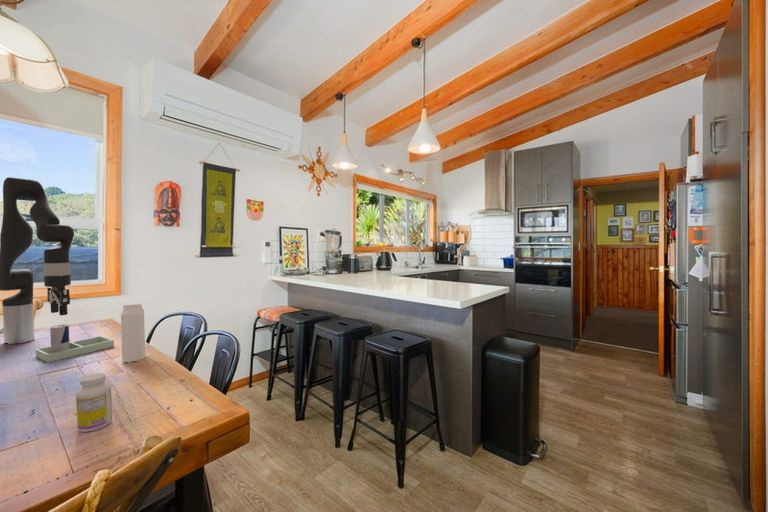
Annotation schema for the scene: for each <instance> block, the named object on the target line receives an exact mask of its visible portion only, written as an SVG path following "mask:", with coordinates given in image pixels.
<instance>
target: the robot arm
mask: <svg viewBox="0 0 768 512" xmlns="http://www.w3.org/2000/svg"><path fill="white" fill-rule="evenodd" d="M2 200H3V201H2V207H3V209H2V210H3V214H2V223H1V230H0V292H1V291H2V292H3V291H7V292H8V291H18V290H19V292H17V293H15V294H14V295H12V296H9V297H6V298H3V299H2V302H1V304H2V305H1V306H2V307H1V308H2V320H3V341H4V342H3V343H8V344H7V345H16V344H15V343H18V344H24V343H28V341H29V342H32V341H34V340H35V339H36V338H35V319H34V317H35V316H34V315H35V314H34V274H33V271H32V270H31V269H27V268H22V269H21V268H19V269H13V268H12V267H13V265H14V263H15V262H16V261H17V259H19V257H21V256H22V254H24V253H25V252H26V251H27V250H29V248H30V247H31V246H32V244H33V236H34V235H33V234H34V230H33V227H32V225H31V224H30V223H29V222H28V220H27V219H26V218H25V217H24V216H23V214H22V213H21V212H20V210H19V208H18V204H17V203H18V201H24V202H25V201H27V202H29V201H30V202H34V203H33V204H32V205H31V207H30V209H29V216H30V218H31V220H32V221H33V222H34V224H35V227H36V237H37V239H38V240H39V241H41V242H44V243H59V244H58V245H57V246H55V247H51V248H49V247H48V248H45V250H44V251H43V259H44V260H43V261H44V265H43V282H44V283H43V285H44V287H46V289H47V302H48V303H49V304H50V313H52V314H55V313H58V314H59V316H67V315H68V313H69V312H68V305H70V304H71V296H70V289H68V288H67V289H66V287H67V286H71V284H72V281H71V279H72V278H71V275H72V274H71V266H70V250H71V246H72V242H73V239H74V237H75V232H74V229H73V227H71V226H70V225H67V224H60V223H61V221H60V218H59V217H58V216H57V214H56V213H55V211H54V210H53V209H52V206H51V204H50V202H49V198H48V196H47V193H46V190H45V188H44V186H43V184H41V182H40V181H38V180H34V179H29V178H22V177H21V178H20V177H10V176H8V177H6V178H5V179H4V181H3V185H2Z"/></svg>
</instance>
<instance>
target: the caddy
mask: <svg viewBox="0 0 768 512" xmlns="http://www.w3.org/2000/svg"><path fill="white" fill-rule="evenodd" d="M69 343H70V349H69V350H65V351H60V352H56V353H51V345H50V346H46V347H41V348H38V349H37V348H36V349H35V357H36V358H38V359H40V360H42V361H44V362H46V363H51V361H52V362H54V361H55V360H56V361H59V360H64V359H67V358H72V357H76V356H81V355H85V354H89V353H93V352H98V351H101V349H102V350H106V349H110V348H113V346H114V347H115V340H114V339H111V338H109V337H106V336H103V335H99V336H94V337H89V338H85V339H80V340H75V341H71V342H70V341H69ZM109 347H110V348H109ZM97 350H98V351H97Z"/></svg>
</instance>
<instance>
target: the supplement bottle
mask: <svg viewBox="0 0 768 512" xmlns="http://www.w3.org/2000/svg"><path fill="white" fill-rule="evenodd" d="M105 381H106V374H105V373H102V372H101V373H100V372H99V373H93V374H88V375H86V376H84V377H82V378H80V385H81V386H82V387H80V388H79V389H78V390H77V391H76V393H75V401H76V404H75V405H76V420H77V421H76V422H77V425H76V426H77V430H78V431H79V432H82V433H89V431H90V432H95V431H98V430H101V429H103V428H105V427H106V426H108V425H109V424H110V423H111V422H112V421H113V406H112V405H113V404H112V403H113V402H112V386H111V384H110V383H109V382H105Z"/></svg>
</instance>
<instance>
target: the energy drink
mask: <svg viewBox="0 0 768 512" xmlns="http://www.w3.org/2000/svg"><path fill="white" fill-rule="evenodd" d="M49 333H50V346H51V353H56V352H60V351H65V350H69V349H70V343H69V342H70V326H69V324H58V325H53V326H51V327H50V332H49Z"/></svg>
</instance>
